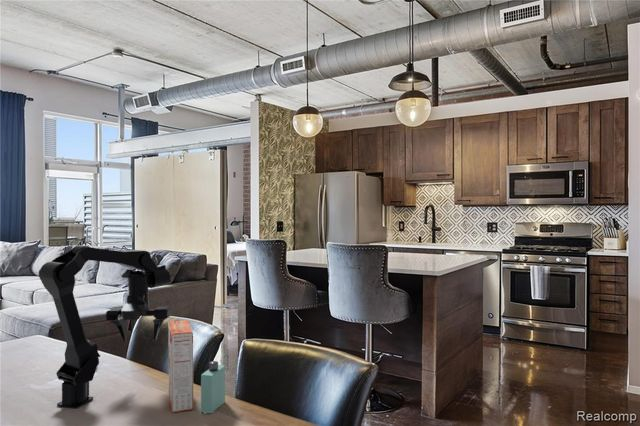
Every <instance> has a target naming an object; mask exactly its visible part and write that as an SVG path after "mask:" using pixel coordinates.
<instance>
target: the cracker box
mask: <svg viewBox="0 0 640 426" xmlns="http://www.w3.org/2000/svg"><path fill="white" fill-rule="evenodd" d="M167 324H168V325H167V330H168V331H167V332H168V333H167V335H168V336H167V337H168V339H167V340H168V341H167V343H168V395H169V401H170V403H169V404H170V409H171V413H178V412H184V411H185V410H186V411H190V410H191V411H192V410H194V332H193V330H192V328H191V325H190V322H189V319H188V320H187V319H185V320H172V321H168V323H167ZM186 411H185V412H186Z"/></svg>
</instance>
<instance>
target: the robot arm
mask: <svg viewBox="0 0 640 426" xmlns="http://www.w3.org/2000/svg"><path fill="white" fill-rule="evenodd" d="M89 261H94V262H103V263H113V264H118V265H120V266H122V267H125V268H128V269H126V270H125V272H124V273H122V274H121V278H125V279H128V280H127V283H128V284H127V286H128V295H127V296H126V302H125V303H124V305H123V306H122V307H112V308H110V309H108V310H107V311H106V312H105V314H104V317H105V321H109V323H110V324H113V325H115V327H116V328H117V329H118V332H119V334H120V336H121V339H122V341H123V342H124V343H125V342H127V340H128V338H127V337H128V330H127V327H128V323H127V322H128V321H129V320H130V321H131V320H133V321H136V320H139V319H140V317H152V316H153V317H154V319H153V341H157V339H158V336H159V333H160V331H161V328H162V325H163V323H164V321H166V320H168V318H170V317H171V316H172V315H173V308H172V306H170V305H166V306H165V305H163V306H161V305H160V306H157V307H156V308H154V309H151V304H150V300H149V298H150V297H149V296H150V295H151V294H150V291H149V288H150V289H154V288H159V287H163V286H168V285H169V284H170V282H171V277H172V276H171V275H170V271H169V270H168V269H167V266H166V264H158V265H156V263H155V262H154V260H153V258H152V256H151V253H150V251H147V250H142V249H124V250H113V249H105V248H98V247H91V246H89V245H80V244H79V245H75V246H74V247H72V248H71V249H69V250H68V251H66V252H65V253H63V254H61V255H59V256H57V257H56V258H54V259H53V260H50V261H48V262H45V263H44V264H43V265H41V267H40V268H39V270H38V278H39V279H40V281H41V283H42V285H43V287H44V289H45V290H46V291H47V292H48V293H49V294H50V295H51V297H52V300H53V302H54V306H55V308H56V313H57V316H58V319H59V322H60V326H61V329H62V332H63V333H62V334H63V336H64V339H65V343H66V347H65V350H64V363H63V364H62V365H61V366H60V368H59V369H58V370H57V371H56V373H55V374H56V377H57V379H58V380H60V381H63V382H62V383H61V401H59V402H57V403H56V406H58V407H65V408H72V409H77V408H80V407H82V406H83V405H85V404H87V403H88V402H91V401H92V400H94V396H90V382H92V381H93V380H94V376H95V374H96V370H97V368H98V366H99V364H100V358H101V354H100V353H99V350H98V345H97V343H95V342H91V341H90V342H88V341H87V340H88V339H87V338H86V335H85V331H84V328H83V327H84V326H83V324H82V320H81V317H80V313H79V309H78V306H77V303H76V299H75V296H74V288H75V286H76V275H77V274H78V273H79V272H80V271H82V270H83V268H84V266H85V264H86V263H87V262H89ZM132 269H135V270H132Z"/></svg>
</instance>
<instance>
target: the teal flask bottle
mask: <svg viewBox="0 0 640 426" xmlns="http://www.w3.org/2000/svg"><path fill="white" fill-rule="evenodd" d="M225 402H226V365H221V364H219V361H217V360H213V361H212V360H211V361H209V362H208V369H207V370H205V371H204V372H202V374H200V413H201V412H205V413H204V414H206V413H212V414H213V413H214V412H216V411H217V410H218V409H219V408H220V407H221V406H222V405H223V404H224V403H225ZM218 407H219V408H218ZM217 408H218V409H217ZM216 409H217V410H216ZM215 410H216V411H215Z"/></svg>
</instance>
